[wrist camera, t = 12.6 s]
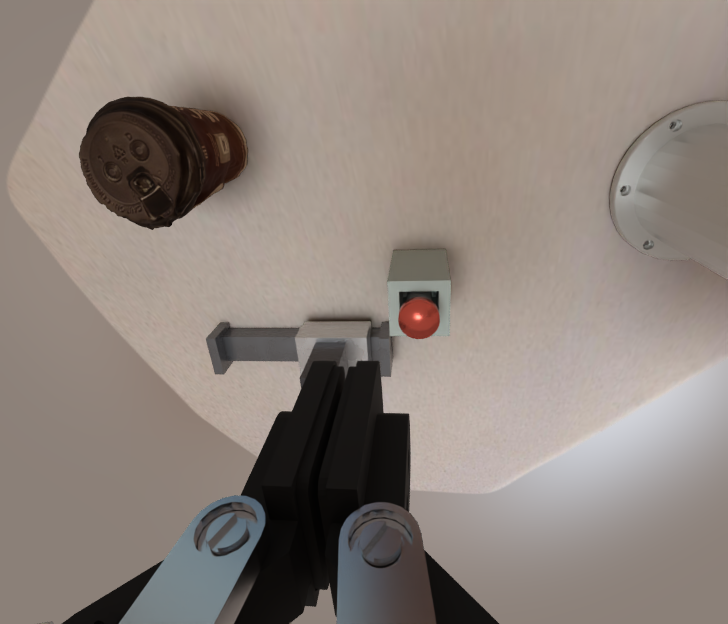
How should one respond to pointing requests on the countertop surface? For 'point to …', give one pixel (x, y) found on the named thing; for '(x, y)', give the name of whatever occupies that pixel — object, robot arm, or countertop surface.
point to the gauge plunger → (419, 315)
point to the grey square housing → (419, 284)
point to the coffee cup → (158, 158)
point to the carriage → (333, 344)
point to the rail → (280, 346)
